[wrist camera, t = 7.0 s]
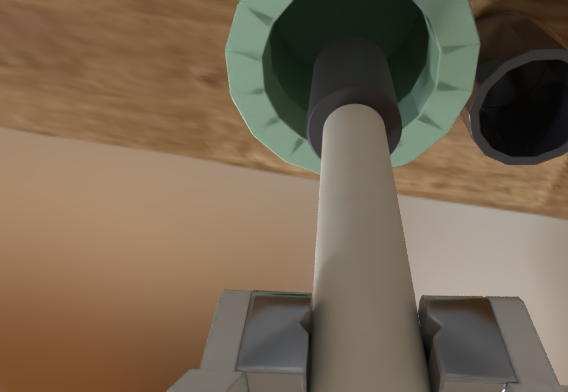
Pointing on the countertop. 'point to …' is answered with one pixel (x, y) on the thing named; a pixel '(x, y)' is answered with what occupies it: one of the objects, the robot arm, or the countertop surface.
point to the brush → (360, 231)
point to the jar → (340, 23)
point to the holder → (519, 91)
